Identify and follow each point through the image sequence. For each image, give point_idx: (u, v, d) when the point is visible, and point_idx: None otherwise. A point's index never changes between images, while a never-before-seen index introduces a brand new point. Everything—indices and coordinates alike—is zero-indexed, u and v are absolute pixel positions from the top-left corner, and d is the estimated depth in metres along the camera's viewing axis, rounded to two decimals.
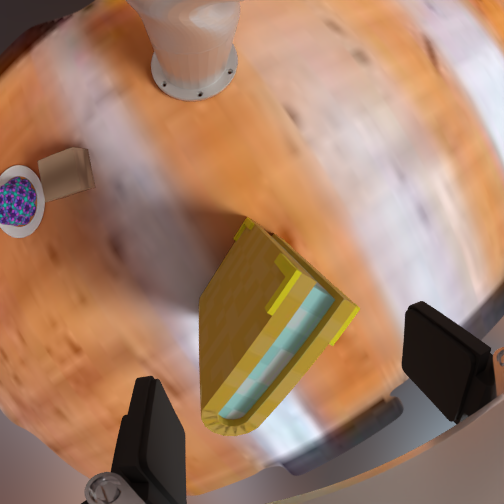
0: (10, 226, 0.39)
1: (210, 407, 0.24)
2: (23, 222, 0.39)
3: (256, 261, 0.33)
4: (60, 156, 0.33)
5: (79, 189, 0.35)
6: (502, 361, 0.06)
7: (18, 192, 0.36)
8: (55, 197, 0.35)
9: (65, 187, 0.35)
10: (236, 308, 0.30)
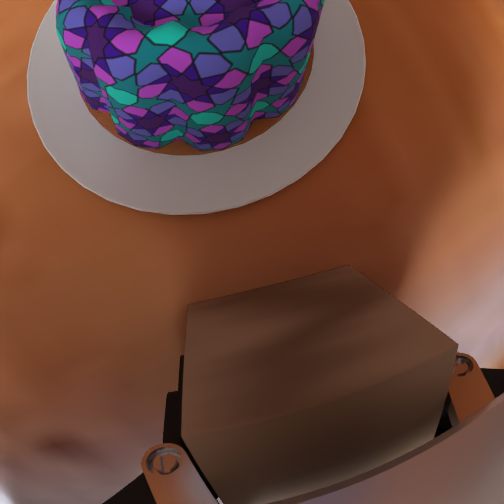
0: None
1: None
2: (80, 86, 0.07)
3: None
4: None
5: None
6: None
7: (260, 72, 0.06)
8: (217, 481, 0.05)
9: None
10: None
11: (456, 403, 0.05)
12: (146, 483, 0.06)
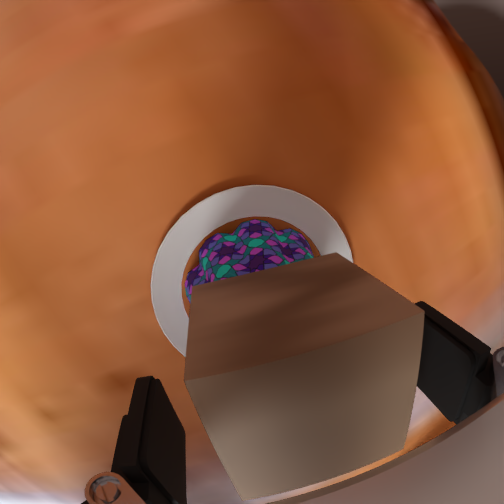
0: (178, 268, 0.17)
1: None
2: None
3: None
4: (394, 421, 0.08)
5: (245, 498, 0.08)
6: (502, 361, 0.06)
7: None
8: (214, 431, 0.07)
9: (259, 463, 0.07)
10: None
11: None
12: None
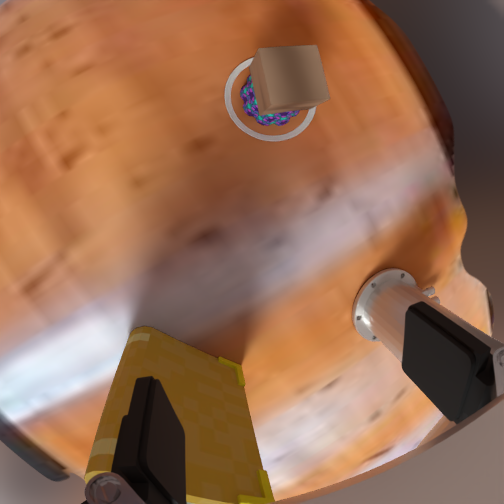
0: None
1: None
2: (249, 111, 0.35)
3: (234, 429, 0.31)
4: (319, 79, 0.26)
5: (272, 102, 0.26)
6: (502, 361, 0.06)
7: None
8: (264, 64, 0.25)
9: (276, 81, 0.25)
10: (199, 437, 0.27)
11: None
12: None
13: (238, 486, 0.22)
